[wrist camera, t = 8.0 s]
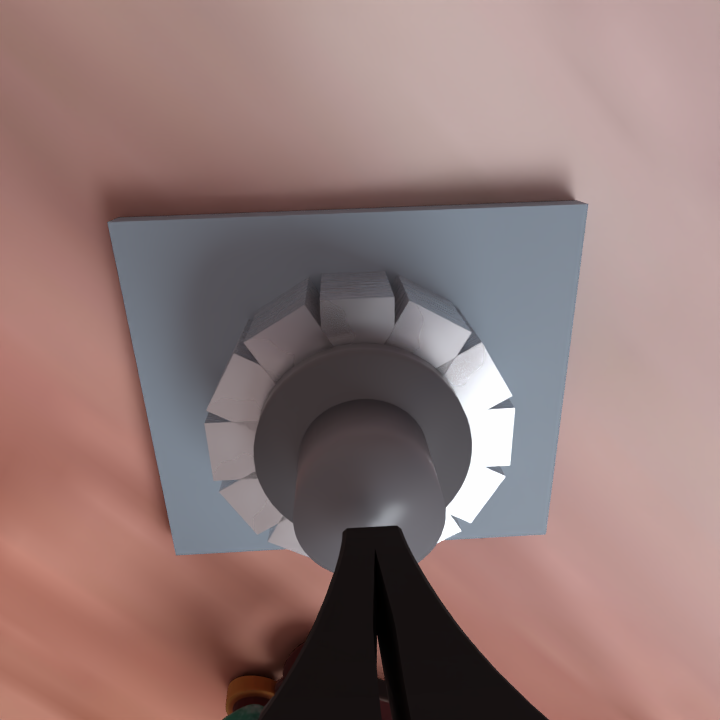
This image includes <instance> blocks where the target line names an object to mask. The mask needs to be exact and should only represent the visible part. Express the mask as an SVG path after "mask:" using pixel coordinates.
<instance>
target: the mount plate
mask: <svg viewBox="0 0 720 720" xmlns="http://www.w3.org/2000/svg"><path fill="white" fill-rule="evenodd" d="M587 209H588V204H586V203H583V202H580V201H577V200H572V201H545V202H519V203H492V204H465V205H439V206H412V207H385V208H358V209H332V210H305V211H278V212H252V213H225V214H198V215H172V216H145V217H118V218H116V219H114V220H111V221H109V222H107V223H108V227H109V232H110V237H111V242H112V247H113V252H114V256H115V261H116V266H117V271H118V276H119V281H120V286H121V290H122V295H123V300H124V305H125V310H126V315H127V320H128V324H129V329H130V334H131V339H132V344H133V349H134V353H135V358H136V363H137V368H138V373H139V378H140V383H141V387H142V392H143V397H144V402H145V407H146V412H147V417H148V421H149V426H150V431H151V436H152V441H153V446H154V450H155V455H156V460H157V465H158V470H159V475H160V480H161V484H162V489H163V494H164V499H165V504H166V509H167V514H168V518H169V523H170V528H171V533H172V538H173V543H174V547H175V552H176V555H190V554H207V553H225V552H243V551H260V550H278V549H286V548H283V547H280V546H278V545H275V544H272V543H270V542H268V536H269V530H270V528H269V529H267V530H265V531H264V532H262V533H260V534H258V535H257V534H256V533H255V532H254V531H253V529H252V528H251V527H250V526H249V525H248V524H247V523H246V522H245V520H244V519H243V518H242V517H241V516H240V515H239V514H238V513H237V512H236V510H235V509H234V508H233V507H232V506H231V505H230V504H229V503H228V501H227V500H226V499H225V498H224V497H223V496H222V495H221V494H220V493H219V490H220V486H221V483H222V481H213V475H212V469H211V462H210V456H209V450H208V444H207V438H206V431H205V425H204V423H205V420H206V418H207V416H208V413H209V412H208V411H206V410H207V407H208V405H209V403H210V401H211V398H212V396H213V394H214V392H215V389H216V387H217V385H218V382H219V380H220V378H221V376H222V373H223V371H224V369H225V367H226V365H227V363H228V361H229V359H230V356H231V354H232V352H233V350H234V348H235V346H236V344H237V342H238V340H239V338H240V336H241V334H242V332H243V330H244V328H245V325H246V323H247V321H248V319H249V320H251V321H253V318H254V316H255V313H256V311H257V310H258V309H259V308H261V307H262V306H264V305H266V304H267V303H269V302H270V301H272V300H273V299H275V298H277V297H278V296H280V295H281V294H283V293H285V292H286V291H288V290H289V289H291V288H293V287H294V286H296V285H297V284H299V283H300V282H302V281H304V280H305V279H307V278H308V277H309V278H310V280H311V281H312V283H313V284H314V286H315V287H316V289H317V290H318V292H319V293H320V287H321V273H342V272H367V271H385V273H386V275H387V278H388V281H389V283H390V286H391V284H392V283H393V281H394V279H395V277H396V276H397V274H399V275H401V276H403V277H405V278H407V279H409V280H411V281H413V282H415V283H416V284H418V285H420V286H422V287H424V288H426V289H428V290H430V291H432V292H434V293H436V294H437V295H439V296H441V297H443V298H445V299H447V300H449V301H451V302H452V304H453V305H454V307H455V308H456V310H457V311H459V310H460V311H461V313H462V314H463V316H464V317H465V318H466V320H467V321H468V323H469V324H470V326H471V327H472V329H473V330H474V331H475V333H476V334H477V336H478V337H479V339H480V340H481V342H482V343H483V345H484V347H485V348H486V350H487V352H488V354H489V355H490V357H491V359H492V361H493V363H494V364H495V366H496V368H497V370H498V371H499V373H500V375H501V377H502V378H503V380H504V382H505V384H506V385H507V387H508V389H509V391H510V392H511V394H512V396H511V397H509V399H510V401H511V403H512V404H513V406H514V407H515V414H514V425H513V436H512V447H511V458H510V465H507V466H500V467H501V469H502V471H503V473H504V475H505V478H504V479H503V480H502V482H501V483H500V484H499V486H498V487H497V488H496V490H495V491H494V493H493V494H492V495H491V497H490V498H489V499H488V501H487V502H486V503H485V505H484V506H483V507H482V509H481V510H480V511H479V513H478V514H477V515H476V517H475V518H474V519H473V521H472V522H471V523H470V522H467V521H465V520H463V519H460V518H458V517H457V519H458V522H459V525H460V528H461V531H460V532H458V533H456V534H454V535H452V536H450V537H448V538H446V539H444V540H454V539H472V538H489V537H507V536H525V535H542V534H546V529H547V521H548V513H549V505H550V497H551V490H552V482H553V474H554V466H555V458H556V451H557V443H558V435H559V427H560V420H561V412H562V404H563V396H564V388H565V381H566V373H567V365H568V357H569V350H570V342H571V334H572V326H573V318H574V311H575V303H576V295H577V287H578V279H579V272H580V264H581V256H582V248H583V241H584V233H585V225H586V217H587Z"/></svg>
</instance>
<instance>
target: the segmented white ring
mask: <svg viewBox="0 0 720 720" xmlns="http://www.w3.org/2000/svg"><path fill="white" fill-rule="evenodd" d="M354 343H377V344H383V345H389V346H393V347H397V348H400V349H403V350H406V351H408V352H410V353H413V354H415V355H417V356H419V357H420V358H422V359H424V360H425V361H427V362H428V363H430V364H431V365H432V366H433V367H435V368H436V369H437V370H438V371H439V372H440V373H441V374H442V375H443V376H444V377H445V378H446V379H447V380H448V382H449V383H450V385H451V386H452V388H453V389H454V391H455V393H456V395H457V397H458V399H459V401H460V403H461V405H462V408H463V410H464V412H465V414H466V416H467V419H468V422H469V426H470V429H471V436H472V457H471V463H470V467H469V470H468V473H467V477H466V479H465V481H464V483H463V485H462V487H461V489H460V490H459V492H458V493H457V495H456V496H455V498H454V499H453V500H452V502H451V503H450V504H449V505H448V506H447V507H446V521H445V526H444V529H443V533H442V535H441V537H440V539H439V541H438V542H440V541H442V540H444V539H446V538H448V537H450V536H452V535H454V534H456V533H458V532H460V531H461V528H460V525H459V522H458V519H457V517H458V518H460V519H463V520H465V521H467V522H470V523H471V522H472V521H473V519H474V518H475V517H476V515H477V514H478V513H479V511H480V510H481V509H482V507H483V506H484V505H485V503H486V502H487V501H488V499H489V498H490V497H491V495H492V494H493V493H494V491H495V490H496V488H497V487H498V486H499V484H500V483H501V482H502V480H503V479H504V478H505V475H504V473H503V471H502V469H501V467H500V466H507V465H510V458H511V447H512V436H513V425H514V414H515V407H514V406H513V404H512V403H511V401H510V399H509V397H511V396H512V394H511V392H510V391H509V389H508V387H507V385H506V384H505V382H504V380H503V378H502V377H501V375H500V373H499V371H498V370H497V368H496V366H495V364H494V363H493V361H492V359H491V357H490V355H489V354H488V352H487V350H486V348H485V347H484V345H483V343H482V342H481V340H480V339H479V337H478V336H477V334H476V333H475V331H474V330H473V329H472V327H471V326H470V324H469V323H468V321H467V320H466V318H465V317H464V316H463V314H462V313H461V311H460V310H459V311H457V310H456V308H455V307H454V305H453V304H452V302H451V301H449V300H447V299H445V298H443V297H441V296H439V295H437V294H436V293H434V292H432V291H430V290H428V289H426V288H424V287H422V286H420V285H418V284H416V283H415V282H413V281H411V280H409V279H407V278H405V277H403V276H401V275H399V274H397V276H396V277H395V279H394V281H393V283H392V284H391V286H390V283H389V281H388V278H387V275H386V273H385V271H367V272H342V273H321V287H320V293H319V292H318V290H317V289H316V287H315V286H314V284H313V283H312V281H311V280H310V278H309V277H308V278H307V279H305V280H304V281H302V282H300V283H299V284H297V285H296V286H294V287H293V288H291V289H289V290H288V291H286V292H285V293H283V294H281V295H280V296H278V297H277V298H275V299H273V300H272V301H270V302H269V303H267V304H266V305H264V306H262V307H261V308H259V309H258V310H257V311H256V313H255V316H254V318H253V321H251V320H249V319H248V321H247V323H246V325H245V328H244V330H243V332H242V334H241V336H240V338H239V340H238V342H237V344H236V346H235V348H234V350H233V352H232V354H231V356H230V359H229V361H228V363H227V365H226V367H225V369H224V371H223V373H222V376H221V378H220V380H219V382H218V385H217V387H216V389H215V392H214V394H213V396H212V398H211V401H210V403H209V405H208V407H207V410H206V411H208V412H209V413H208V416H207V418H206V420H205V423H204V425H205V431H206V438H207V444H208V450H209V456H210V462H211V469H212V475H213V481H222V483H221V486H220V490H219V493H220V494H221V495H222V496H223V497H224V498H225V499H226V500H227V501H228V503H229V504H230V505H231V506H232V507H233V508H234V509H235V510H236V512H237V513H238V514H239V515H240V516H241V517H242V518H243V519H244V520H245V522H246V523H247V524H248V525H249V526H250V527H251V528H252V529H253V531H254V532H255V533H256V534H257V535H258V534H260V533H262V532H264V531H265V530H267V529H269V528H270V530H269V536H268V542H270V543H272V544H275V545H278V546H280V547H283V548H286V549H288V550H291V551H294V552H296V553H299V554H302V555H304V556H307V557H309V556H308V555H307V554H306V553H305V552H304V550H303V549H302V547H301V546H300V544H299V542H298V540H297V538H296V535H295V532H294V526H293V523H292V522H291V521H289V520H288V519H287V518H286V517H284V516H283V515H282V514H281V513H280V512H279V511H278V510H277V509H276V508H275V507H274V506H273V505H272V503H271V502H270V500H269V499H268V498H267V496H266V495H265V493H264V491H263V489H262V487H261V485H260V483H259V480H258V477H257V474H256V471H255V464H254V440H255V434H256V430H257V426H258V422H259V418H260V414H261V411H262V408H263V405H264V403H265V401H266V399H267V397H268V395H269V393H270V392H271V390H272V389H273V387H274V386H275V384H276V383H277V382H278V381H279V380H280V379H281V378H282V376H283V375H284V374H285V373H287V372H288V371H289V370H290V369H291V368H292V367H294V366H295V365H296V364H298V363H299V362H301V361H302V360H304V359H305V358H307V357H309V356H311V355H313V354H315V353H318V352H320V351H323V350H326V349H329V348H332V347H335V346H340V345H345V344H354ZM438 542H437V543H438Z"/></svg>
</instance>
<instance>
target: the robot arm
mask: <svg viewBox="0 0 720 720" xmlns="http://www.w3.org/2000/svg"><path fill="white" fill-rule="evenodd" d="M377 636H378V642H379V648H380V654H381V659H382V665H383V671H384V676H385V682H386V688H387V693H388V699H389V705H390V710H391V716H392V720H549V719H547V718H546V717H545V716H544V715H543V714H542V713H541V712H540V711H538V710H537V709H536V708H535V707H534V706H533V705H532V704H530V703H529V702H528V701H527V700H526V699H525V698H524V697H523V696H522V695H521V694H520V693H519V692H518V691H517V690H516V689H515V688H514V687H513V686H512V685H511V684H510V683H509V682H508V681H507V680H506V679H505V678H504V677H503V676H502V675H501V674H500V673H499V672H498V671H497V670H496V669H495V668H494V667H493V666H492V664H491V663H490V662H489V661H488V660H487V659H486V658H485V657H484V656H483V654H482V653H481V652H480V651H479V650H478V649H477V647H476V646H475V645H474V644H473V643H472V642H471V640H470V639H469V638H468V637H467V636H466V634H465V633H464V632H463V630H462V629H461V628H460V627H459V625H458V624H457V623H456V621H455V620H454V619H453V617H452V616H451V614H450V613H449V612H448V610H447V609H446V608H445V606H444V605H443V603H442V602H441V600H440V599H439V597H438V596H437V594H436V593H435V591H434V590H433V588H432V586H431V585H430V583H429V582H428V580H427V578H426V577H425V575H424V574H423V572H422V570H421V568H420V567H419V565H418V563H417V561H416V559H415V558H414V556H413V554H412V552H411V550H410V548H409V546H408V544H407V541H406V539H405V537H404V534H403V532H402V529H401V528H400V527H399V526H397V525H395V526H377V527H359V528H347V529H345V530H344V531H343V532H342V542H341V548H340V553H339V557H338V560H337V564H336V567H335V571H334V574H333V577H332V580H331V582H330V585H329V588H328V591H327V594H326V597H325V599H324V602H323V604H322V606H321V609H320V611H319V613H318V615H317V618H316V620H315V622H314V625H313V627H312V629H311V631H310V633H309V635H308V637H307V639H306V641H305V643H304V645H303V647H302V649H301V651H300V653H299V655H298V657H297V658H296V660H295V662H294V664H293V666H292V667H291V669H290V671H289V672H288V674H287V676H286V677H285V679H284V681H283V682H282V684H281V686H280V687H279V689H278V690H277V692H276V694H275V695H274V697H273V698H272V700H271V701H270V703H269V704H268V706H267V707H266V708H265V710H264V711H263V713H262V714H261V716H260V717H259V718H258V720H382V717H381V708H380V698H379V688H378V678H377Z"/></svg>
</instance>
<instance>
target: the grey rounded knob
mask: <svg viewBox="0 0 720 720" xmlns="http://www.w3.org/2000/svg"><path fill="white" fill-rule="evenodd" d="M471 457H472V436H471V429H470V426H469V422H468V419H467V416H466V414H465V412H464V410H463V408H462V405H461V403H460V401H459V399H458V397H457V395H456V393H455V391H454V389H453V388H452V386H451V385H450V383H449V382H448V380H447V379H446V378H445V377H444V376H443V375H442V374H441V373H440V372H439V371H438V370H437V369H436V368H435V367H433V366H432V365H431V364H430V363H428V362H427V361H425V360H424V359H422V358H420V357H419V356H417V355H415V354H413V353H410V352H408V351H406V350H403V349H400V348H397V347H393V346H389V345H383V344H377V343H354V344H345V345H340V346H335V347H332V348H329V349H326V350H323V351H320V352H318V353H315V354H313V355H311V356H309V357H307V358H305V359H304V360H302V361H301V362H299V363H298V364H296V365H295V366H294V367H292V368H291V369H290V370H289V371H288V372H287V373H285V374H284V375H283V376H282V378H281V379H280V380H279V381H278V382H277V383H276V384H275V386H274V387H273V389H272V390H271V392H270V393H269V395H268V397H267V399H266V401H265V403H264V405H263V408H262V411H261V414H260V418H259V422H258V426H257V430H256V434H255V440H254V464H255V471H256V474H257V477H258V480H259V483H260V485H261V487H262V489H263V491H264V493H265V495H266V496H267V498H268V499H269V500H270V502H271V503H272V505H273V506H274V507H275V508H276V509H277V510H278V511H279V512H280V513H281V514H282V515H283V516H284V517H286V518H287V519H288V520H289V521H291V522H292V523H293V526H294V532H295V535H296V538H297V540H298V542H299V544H300V546H301V547H302V549H303V550H304V552H305V553H306V554H307V555H308V556H309V557H310V558H311V559H312V560H313V561H314V562H316V563H317V564H318V565H320V566H322V567H323V568H325V569H327V570H329V571H331V572H333V573H334V571H335V567H336V564H337V560H338V557H339V553H340V548H341V542H342V532H343V531H344V530H345V529H347V528H359V527H377V526H395V525H397V526H399V527H400V528H401V529H402V532H403V534H404V537H405V539H406V541H407V544H408V546H409V548H410V550H411V552H412V554H413V556H414V558H415V559H416V561H417V563H418V562H420V561H421V560H422V559H423V558H425V557H426V556H427V555H428V554H429V553H430V552H431V551H432V549H433V548H434V547H435V545H436V544H437V542H438V541H439V539H440V537H441V535H442V533H443V529H444V526H445V521H446V507H447V506H448V505H449V504H450V503H451V502H452V500H453V499H454V498H455V496H456V495H457V493H458V492H459V490H460V489H461V487H462V485H463V483H464V481H465V479H466V477H467V473H468V470H469V467H470V463H471Z"/></svg>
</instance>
